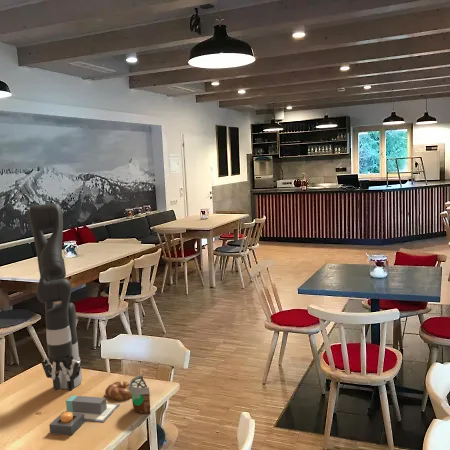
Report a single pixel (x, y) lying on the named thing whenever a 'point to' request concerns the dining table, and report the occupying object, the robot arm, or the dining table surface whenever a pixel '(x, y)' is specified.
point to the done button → (66, 417)
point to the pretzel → (118, 391)
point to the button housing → (67, 425)
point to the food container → (140, 395)
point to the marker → (86, 404)
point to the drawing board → (102, 416)
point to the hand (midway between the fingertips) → (64, 389)
